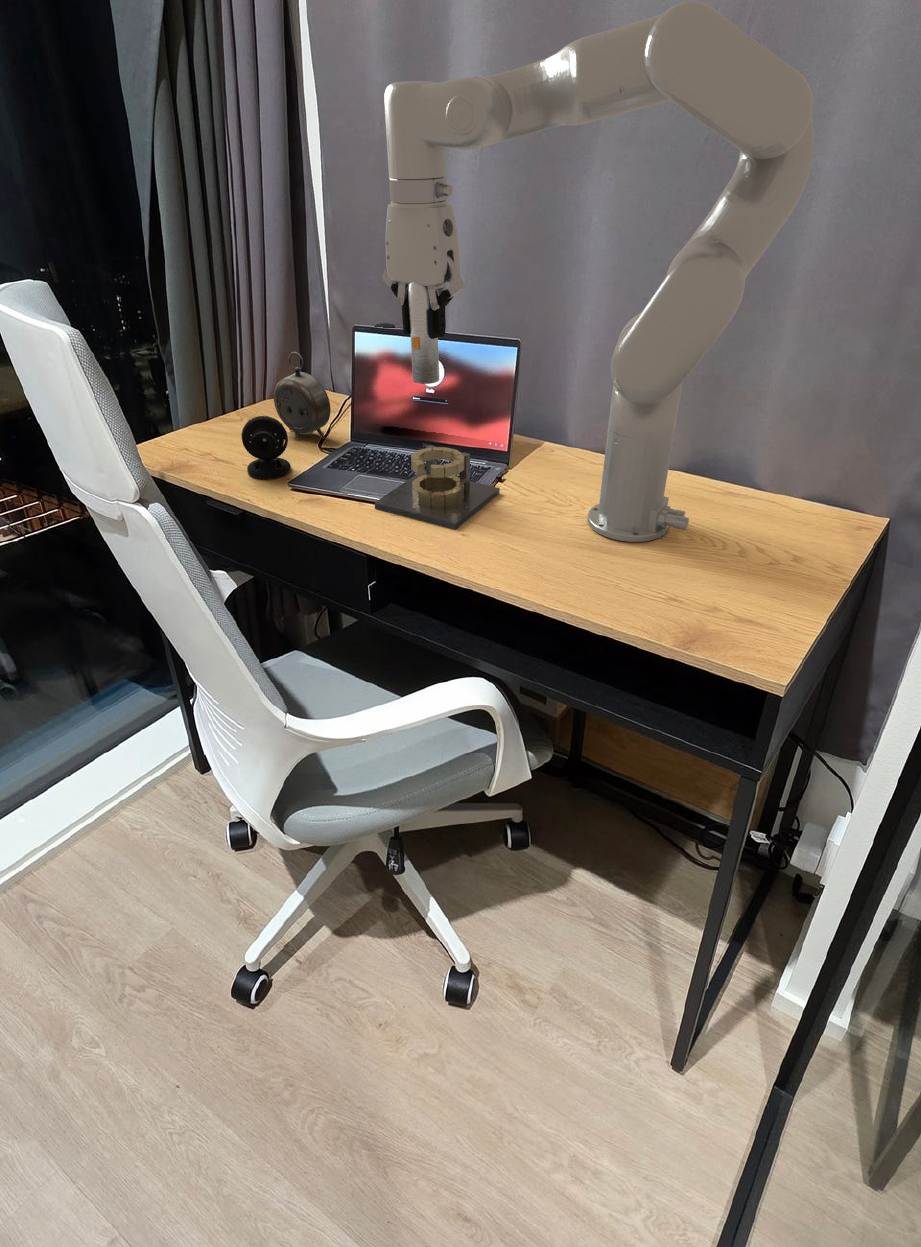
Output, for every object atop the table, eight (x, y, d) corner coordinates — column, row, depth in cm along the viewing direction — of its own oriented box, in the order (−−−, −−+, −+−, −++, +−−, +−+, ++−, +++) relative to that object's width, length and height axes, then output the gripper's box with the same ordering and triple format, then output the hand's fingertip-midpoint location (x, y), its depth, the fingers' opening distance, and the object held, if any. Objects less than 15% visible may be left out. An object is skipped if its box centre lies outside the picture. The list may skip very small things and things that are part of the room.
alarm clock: (334, 438, 153) (327, 353, 144) (316, 447, 149) (307, 360, 140) (292, 427, 158) (282, 344, 149) (273, 435, 154) (261, 350, 145)
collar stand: (499, 493, 133) (500, 450, 129) (455, 529, 122) (455, 484, 118) (423, 475, 139) (422, 433, 135) (374, 508, 128) (372, 464, 124)
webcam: (245, 481, 137) (236, 425, 131) (249, 464, 143) (240, 409, 137) (290, 479, 138) (283, 423, 132) (292, 462, 144) (286, 408, 138)
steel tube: (423, 374, 122) (417, 246, 112) (444, 378, 120) (440, 248, 110) (406, 381, 119) (399, 250, 109) (428, 385, 117) (422, 253, 107)
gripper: (485, 193, 104) (486, 336, 115) (387, 187, 112) (396, 322, 123) (452, 199, 99) (456, 348, 109) (352, 193, 107) (364, 333, 118)
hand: (424, 333), depth 116 cm, fingers closed on steel tube, 4 cm apart
